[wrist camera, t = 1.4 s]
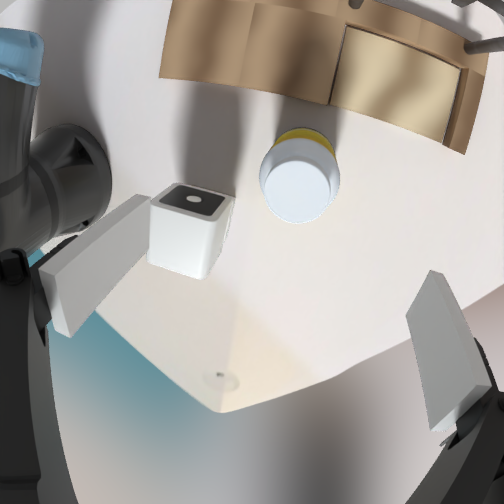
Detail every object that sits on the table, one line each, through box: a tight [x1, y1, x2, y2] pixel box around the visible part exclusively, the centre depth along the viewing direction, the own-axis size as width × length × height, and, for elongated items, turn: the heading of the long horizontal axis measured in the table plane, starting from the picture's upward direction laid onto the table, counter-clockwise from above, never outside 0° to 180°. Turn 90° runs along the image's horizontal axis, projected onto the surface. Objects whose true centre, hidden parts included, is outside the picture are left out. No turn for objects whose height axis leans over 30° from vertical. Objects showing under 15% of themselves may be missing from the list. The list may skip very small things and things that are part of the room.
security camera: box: [146, 183, 235, 280], centre depth 32 cm, size 6×7×10 cm
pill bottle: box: [259, 128, 340, 223], centre depth 26 cm, size 6×6×12 cm
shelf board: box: [159, 0, 504, 155], centre depth 18 cm, size 32×12×16 cm, turn 80°
